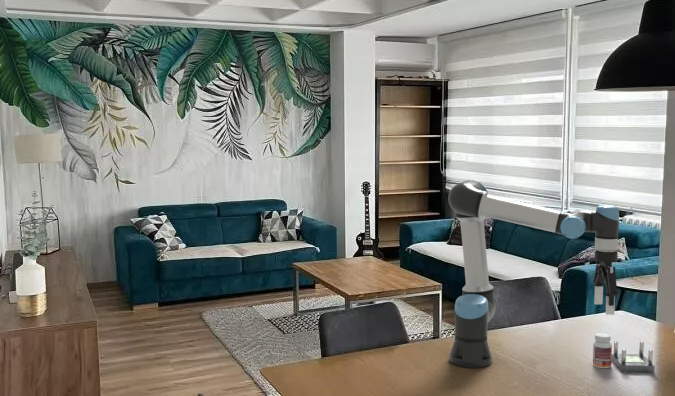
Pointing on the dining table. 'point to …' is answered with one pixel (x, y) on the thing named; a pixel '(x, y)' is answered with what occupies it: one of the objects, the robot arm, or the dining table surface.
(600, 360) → the pill bottle
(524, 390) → the dining table surface
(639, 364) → the chassis
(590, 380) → the dining table surface
